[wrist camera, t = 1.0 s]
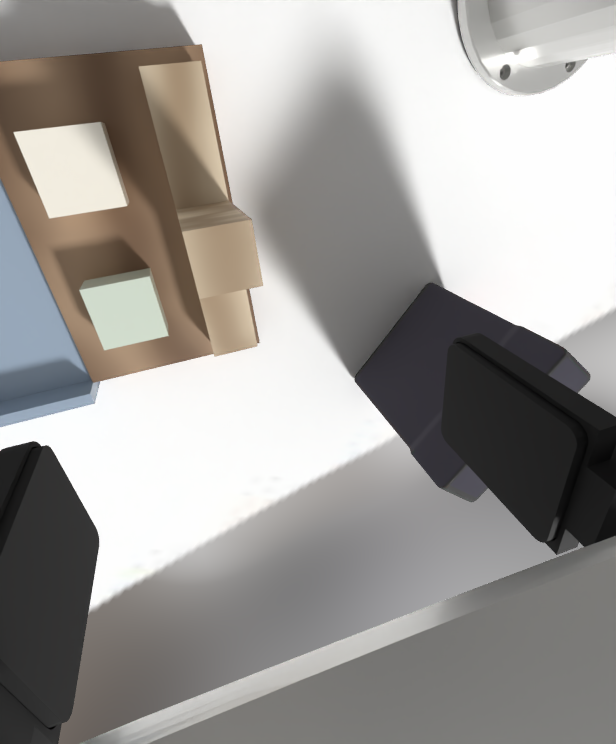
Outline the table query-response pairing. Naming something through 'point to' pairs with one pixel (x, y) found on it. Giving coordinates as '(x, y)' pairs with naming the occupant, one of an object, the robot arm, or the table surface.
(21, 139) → the cream tile
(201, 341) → the walnut board
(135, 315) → the sage tile
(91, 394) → the box
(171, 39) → the table surface
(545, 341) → the charcoal rectangular box
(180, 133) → the bent tan panel
